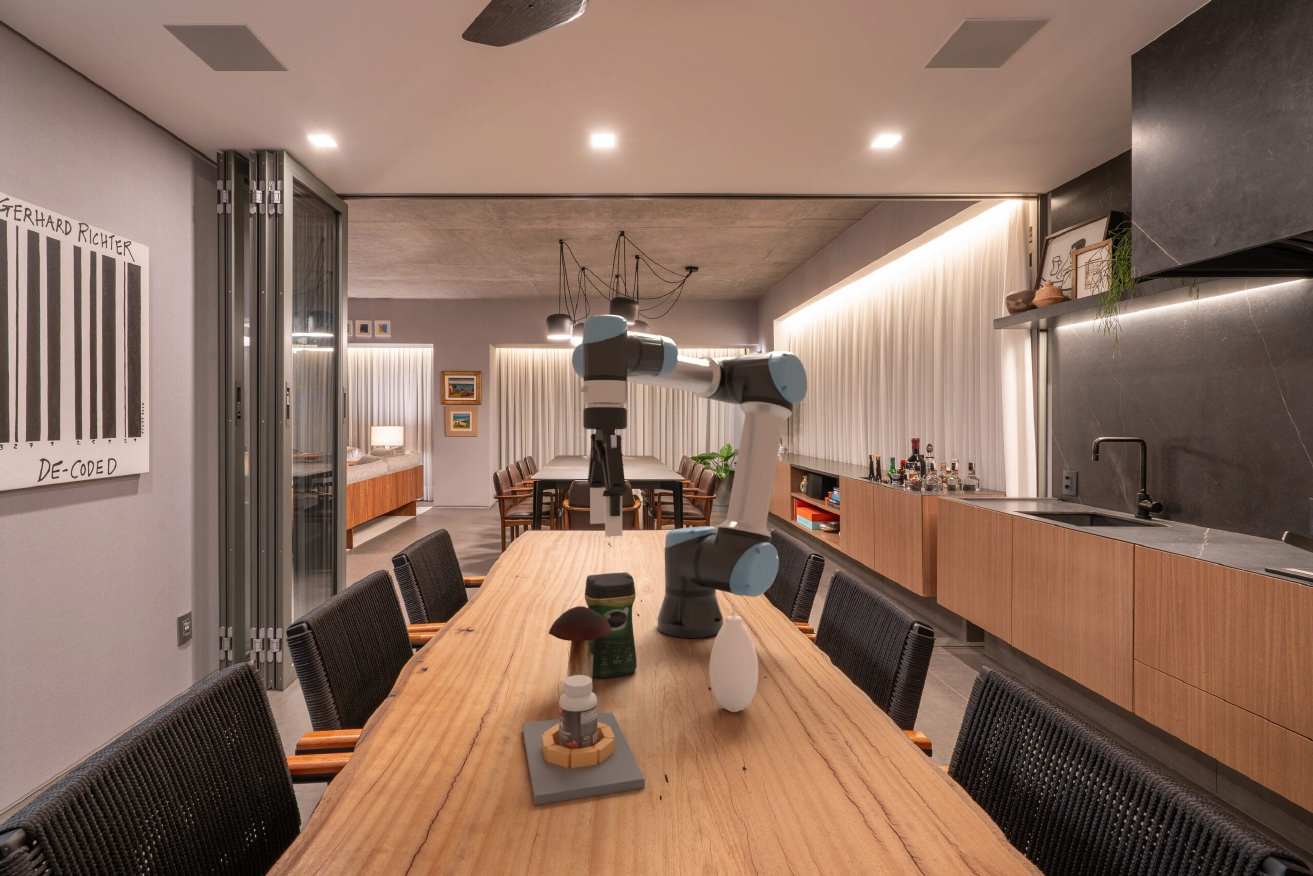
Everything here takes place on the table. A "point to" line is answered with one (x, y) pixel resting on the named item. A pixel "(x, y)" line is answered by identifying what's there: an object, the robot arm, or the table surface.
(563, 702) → the pill bottle
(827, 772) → the table surface
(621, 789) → the socket board
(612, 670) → the coffee jar
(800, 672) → the table surface
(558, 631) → the decorative mushroom
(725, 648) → the sauce bottle
